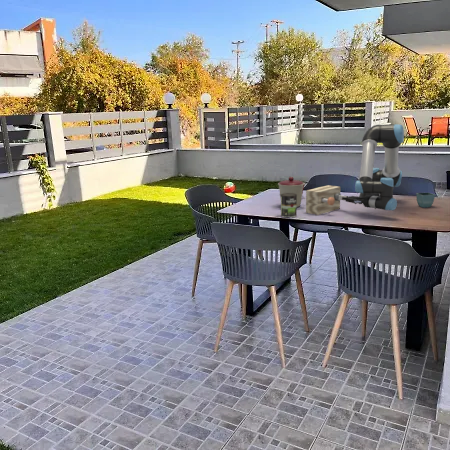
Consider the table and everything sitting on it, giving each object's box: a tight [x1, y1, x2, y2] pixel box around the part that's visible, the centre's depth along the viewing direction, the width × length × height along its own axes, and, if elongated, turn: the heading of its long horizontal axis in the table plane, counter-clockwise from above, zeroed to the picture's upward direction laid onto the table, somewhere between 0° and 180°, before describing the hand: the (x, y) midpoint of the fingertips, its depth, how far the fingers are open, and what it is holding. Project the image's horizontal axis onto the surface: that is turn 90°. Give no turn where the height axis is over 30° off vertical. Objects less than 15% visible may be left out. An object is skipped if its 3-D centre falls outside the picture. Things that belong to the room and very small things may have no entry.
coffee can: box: [280, 193, 298, 218], centre depth 292 cm, size 10×10×14 cm
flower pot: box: [415, 192, 436, 209], centre depth 303 cm, size 9×9×9 cm
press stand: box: [305, 184, 342, 216], centre depth 302 cm, size 10×24×15 cm, turn 132°
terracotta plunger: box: [321, 197, 335, 205], centre depth 293 cm, size 12×5×5 cm, turn 42°
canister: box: [277, 176, 305, 208], centre depth 317 cm, size 18×18×21 cm
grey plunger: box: [334, 192, 342, 202], centre depth 305 cm, size 12×5×5 cm, turn 42°
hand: (339, 197), depth 301 cm, fingers closed
